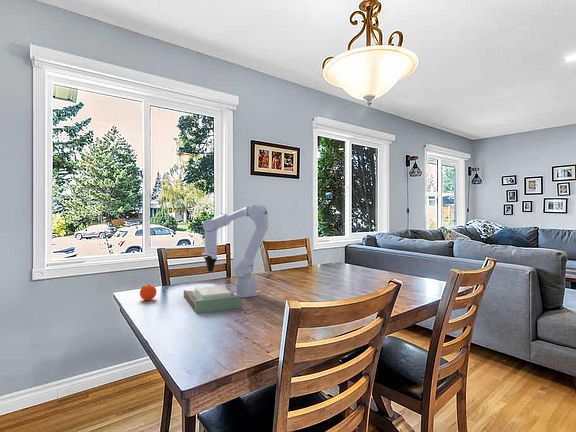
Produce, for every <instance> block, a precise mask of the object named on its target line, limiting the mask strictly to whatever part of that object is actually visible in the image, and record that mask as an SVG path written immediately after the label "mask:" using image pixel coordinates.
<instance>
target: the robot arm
mask: <svg viewBox="0 0 576 432" xmlns="http://www.w3.org/2000/svg"><path fill="white" fill-rule="evenodd" d="M268 215H269V212H268V210H267V208H266V207H265V205H261V204H259V205H256V204H252V205H249V206H246V207H242V208H240V209H239V210H236V211H234V212H231V213H230V214H227V213H224V212H222V213H220V214H219V215H218V216H216V217H215V216H213V217H211V219H210V218H208V219H206V220H204V221H203V223H202V229H203V230H204V252H202V253H201V255H203V256H204V257H203V259H204V261H205V263H206V269H207V272H208V273H209V272H210V273H211V272H214V268H215V265H216V262H217V260H218V257H217V255H218V252H217V249H218V247H217V246H218V245H217V244H218V239H217V235H218V229H221V228H224V227H226V226H228V225H230V224H232V223H231V222H232V221H235V220H237V219H240V218H243V217H249V218H250V219H251V220H252V221H253V223H254V225H255V230H254V232H253V234H252V236H251V238H250V241H249V243H248V245H247V248H246V249H245V252H244V255H243V256H242V258H241V259H239V262H238V264H237V265H235V267H234V268H233V272H234V275H235V292H233V295H240V296H241V297H240V299H241V298H248V297H257V296H258V295H257V292H258V291H257V285H258V284H257V283H258V282H257V278H256V276H253V275H252V273H253V271H254V264H255V261H254V260H255V258H256V256H257V254H258V251H259V250H260V247H261V244H262V243H263V240H264V238H265V235H266V233H267V231H268V228H269V219H268V218H269V217H268Z"/></svg>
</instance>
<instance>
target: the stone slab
mask: <svg viewBox="0 0 576 432" xmlns="http://www.w3.org/2000/svg"><path fill="white" fill-rule="evenodd" d="M194 290H195V295H196V296H197V297H198V298H199V299H206V298H215V297H224V296H231V294H232V291H230V290H229V289H227V287H225V286H224V285H223V284H220V285H211V286H210V285H209V286H201V287H195V289H194Z"/></svg>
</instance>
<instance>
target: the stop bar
mask: <svg viewBox="0 0 576 432" xmlns="http://www.w3.org/2000/svg"><path fill="white" fill-rule="evenodd" d="M240 297H241V296H240V295H234V294H233V295H232V296H224V297H215V298H206V299H197V300H195V312H194V313H195V314H203V313H210V312H218V311H224V310H233V309H240V308H241V298H240Z"/></svg>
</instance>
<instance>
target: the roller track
mask: <svg viewBox="0 0 576 432" xmlns="http://www.w3.org/2000/svg"><path fill="white" fill-rule="evenodd" d="M232 295H234V294H232V293H231V296H232ZM183 298H184V299H185V301H186V302H187V303H188V305H189V307H191V309H192V310H193V311H194V313H195V300H197V299H199V298H198V297H197V296H196V295H195V289H193V290H186V289H184V290H183Z"/></svg>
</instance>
